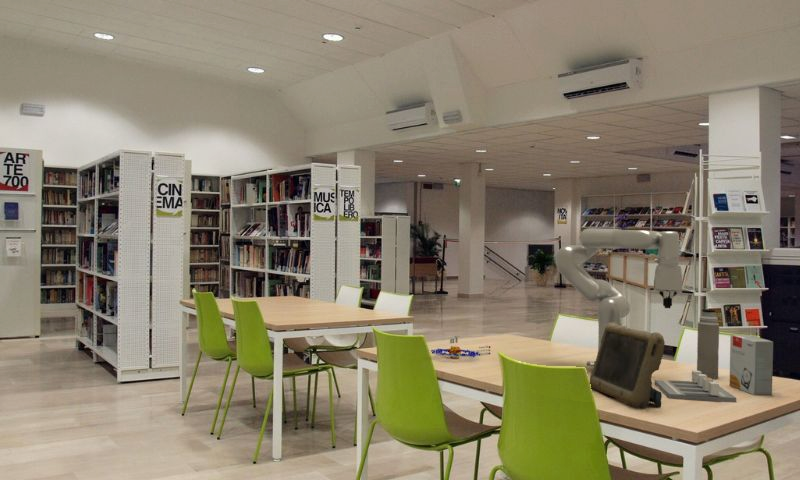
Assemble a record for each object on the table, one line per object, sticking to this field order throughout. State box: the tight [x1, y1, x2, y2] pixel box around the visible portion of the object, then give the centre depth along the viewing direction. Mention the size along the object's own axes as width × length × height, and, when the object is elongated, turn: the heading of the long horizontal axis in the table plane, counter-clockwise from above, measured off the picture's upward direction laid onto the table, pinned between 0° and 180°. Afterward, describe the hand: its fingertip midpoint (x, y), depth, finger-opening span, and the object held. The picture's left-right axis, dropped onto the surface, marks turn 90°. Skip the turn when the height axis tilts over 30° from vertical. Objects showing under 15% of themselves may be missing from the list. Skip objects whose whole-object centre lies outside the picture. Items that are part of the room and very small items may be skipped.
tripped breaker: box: [703, 378, 714, 391], centre depth 236 cm, size 3×3×4 cm
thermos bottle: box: [696, 308, 720, 380], centre depth 270 cm, size 8×8×28 cm
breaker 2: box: [708, 381, 720, 396], centre depth 229 cm, size 3×3×4 cm
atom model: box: [428, 335, 492, 360], centre depth 304 cm, size 35×26×10 cm
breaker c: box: [697, 374, 707, 387], centre depth 243 cm, size 3×3×4 cm
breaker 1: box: [691, 370, 702, 383], centre depth 250 cm, size 3×3×4 cm
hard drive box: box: [729, 334, 774, 396], centre depth 246 cm, size 16×8×20 cm, turn 5°
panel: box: [654, 379, 737, 403], centre depth 240 cm, size 22×25×2 cm
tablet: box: [589, 322, 666, 410], centre depth 231 cm, size 33×14×25 cm, turn 17°
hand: (667, 307), depth 261 cm, fingers closed
